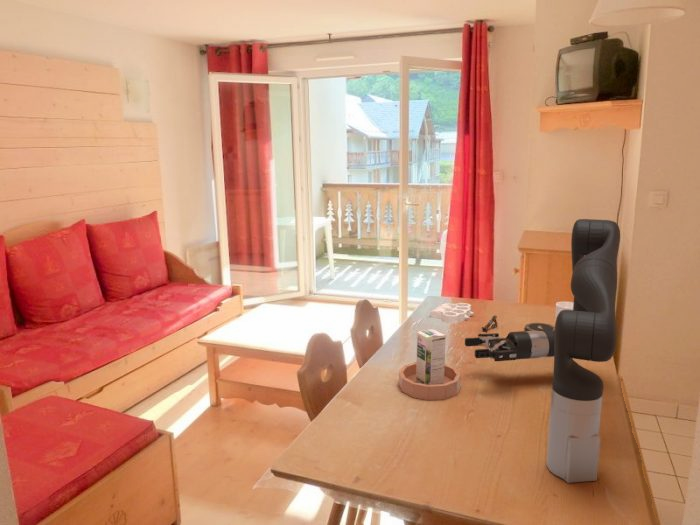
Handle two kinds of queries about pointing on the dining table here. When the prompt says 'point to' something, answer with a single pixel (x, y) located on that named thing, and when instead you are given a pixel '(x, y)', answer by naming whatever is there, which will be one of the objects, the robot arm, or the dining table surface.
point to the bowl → (429, 391)
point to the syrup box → (430, 357)
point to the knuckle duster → (452, 312)
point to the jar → (539, 327)
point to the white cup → (563, 307)
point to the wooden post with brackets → (490, 323)
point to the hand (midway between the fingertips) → (469, 347)
